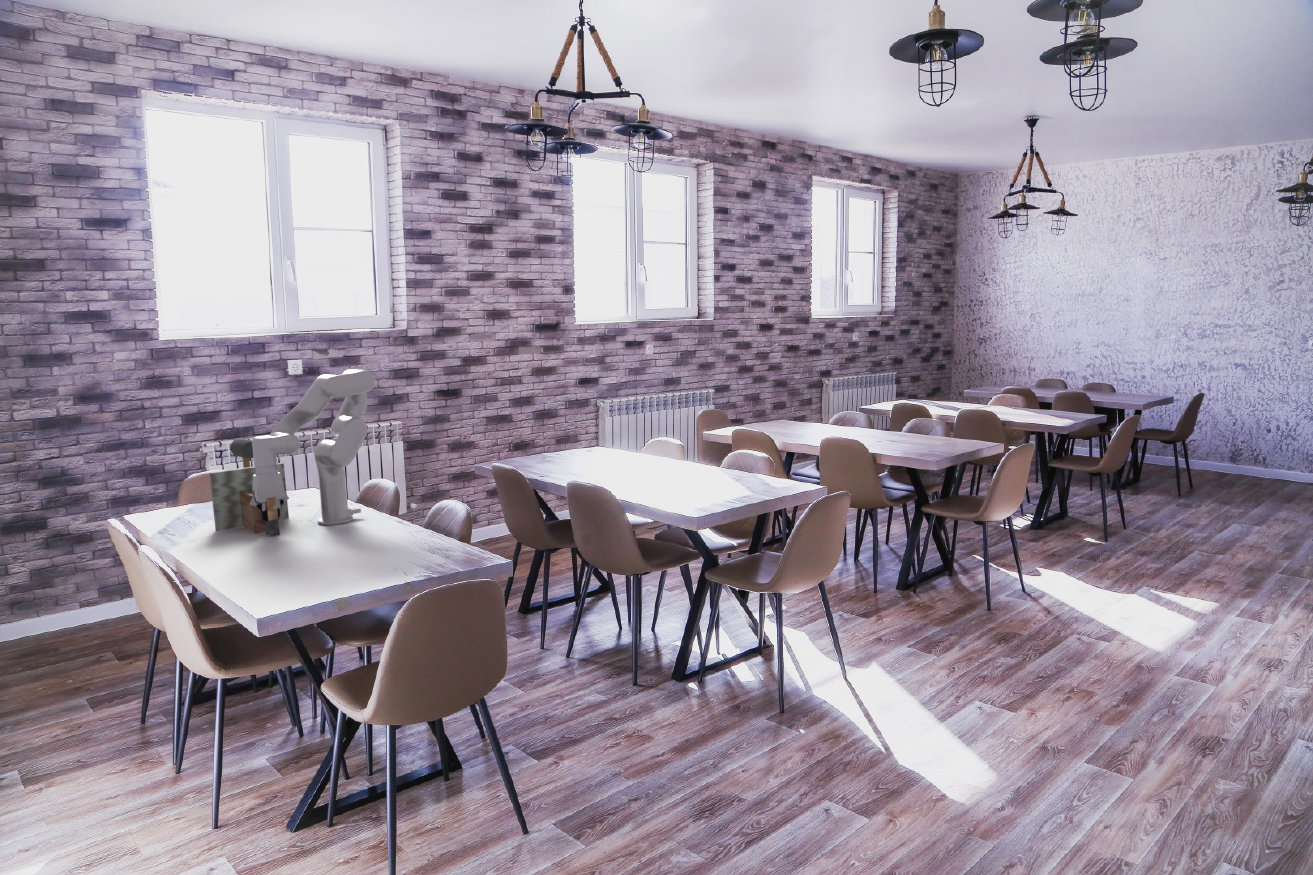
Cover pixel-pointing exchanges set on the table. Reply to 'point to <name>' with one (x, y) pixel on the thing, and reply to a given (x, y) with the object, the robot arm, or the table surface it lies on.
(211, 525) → the table surface
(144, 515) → the table surface
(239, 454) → the rubber mallet
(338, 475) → the robot arm
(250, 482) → the grey patterned screen
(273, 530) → the brown and grey block
